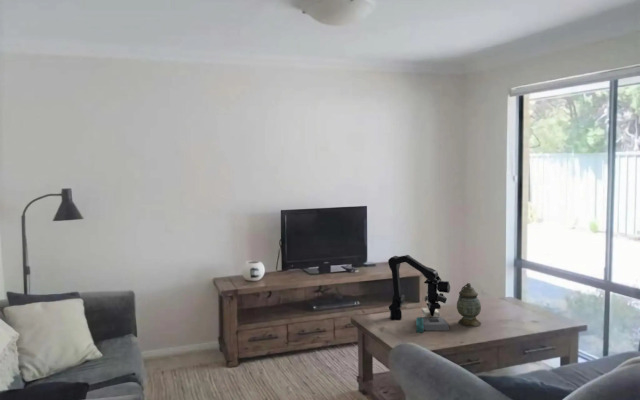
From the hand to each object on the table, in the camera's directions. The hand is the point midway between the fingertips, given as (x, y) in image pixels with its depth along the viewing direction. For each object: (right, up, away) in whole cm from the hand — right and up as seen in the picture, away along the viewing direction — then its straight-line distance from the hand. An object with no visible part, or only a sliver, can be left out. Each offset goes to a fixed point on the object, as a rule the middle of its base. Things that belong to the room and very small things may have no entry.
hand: (432, 316), depth 301 cm
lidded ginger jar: (+22, -5, 0) cm, 23 cm away
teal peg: (-10, -6, -13) cm, 17 cm away
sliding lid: (0, -1, +6) cm, 6 cm away
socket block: (0, -5, -4) cm, 6 cm away
